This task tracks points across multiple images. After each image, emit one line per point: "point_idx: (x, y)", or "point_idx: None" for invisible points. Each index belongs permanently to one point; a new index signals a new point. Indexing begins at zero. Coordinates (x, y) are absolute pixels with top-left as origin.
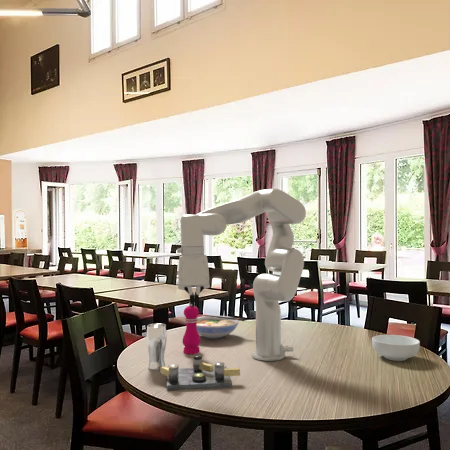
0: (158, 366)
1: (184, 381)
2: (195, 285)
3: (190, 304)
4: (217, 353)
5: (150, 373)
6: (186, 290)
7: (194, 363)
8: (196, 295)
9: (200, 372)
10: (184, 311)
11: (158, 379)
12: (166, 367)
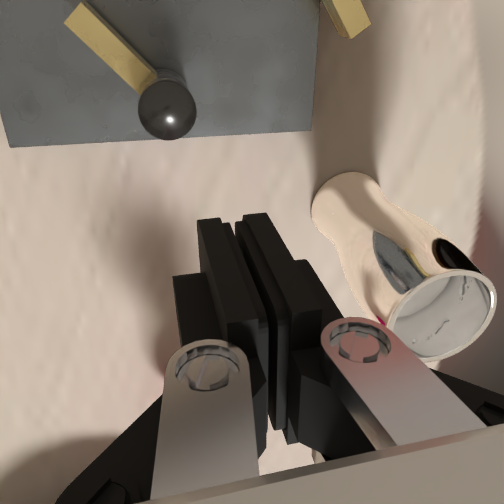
0: (347, 180)
1: None
2: (339, 465)
3: None
4: (89, 373)
5: (377, 133)
6: (470, 395)
7: (183, 83)
8: (232, 317)
9: (147, 55)
10: None
11: (350, 43)
12: (340, 10)
